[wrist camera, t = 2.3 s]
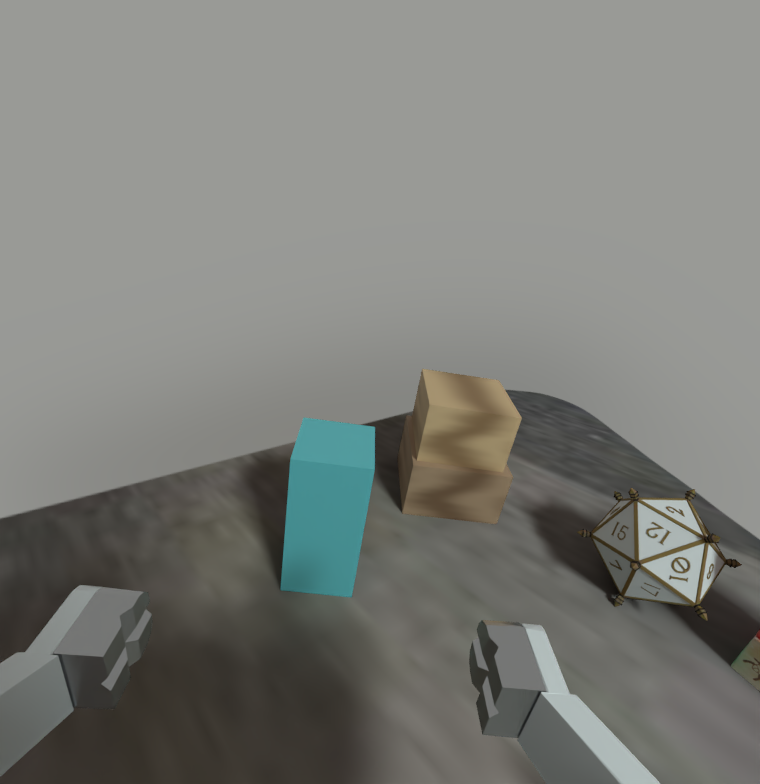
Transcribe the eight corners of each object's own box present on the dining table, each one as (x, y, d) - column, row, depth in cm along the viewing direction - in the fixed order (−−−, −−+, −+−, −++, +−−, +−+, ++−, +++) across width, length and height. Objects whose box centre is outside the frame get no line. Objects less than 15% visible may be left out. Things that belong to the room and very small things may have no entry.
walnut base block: (401, 515, 35) (413, 465, 33) (397, 459, 42) (406, 415, 40) (495, 525, 35) (513, 477, 33) (475, 468, 43) (488, 426, 40)
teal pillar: (280, 590, 27) (290, 459, 22) (293, 537, 31) (303, 417, 26) (351, 597, 27) (374, 469, 23) (354, 543, 31) (375, 426, 27)
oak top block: (416, 460, 33) (429, 404, 31) (411, 417, 40) (422, 368, 38) (503, 472, 34) (521, 417, 32) (484, 428, 40) (499, 380, 38)
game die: (612, 601, 35) (680, 500, 35) (713, 680, 26) (801, 547, 27) (535, 547, 33) (608, 441, 33) (618, 614, 24) (714, 472, 25)
